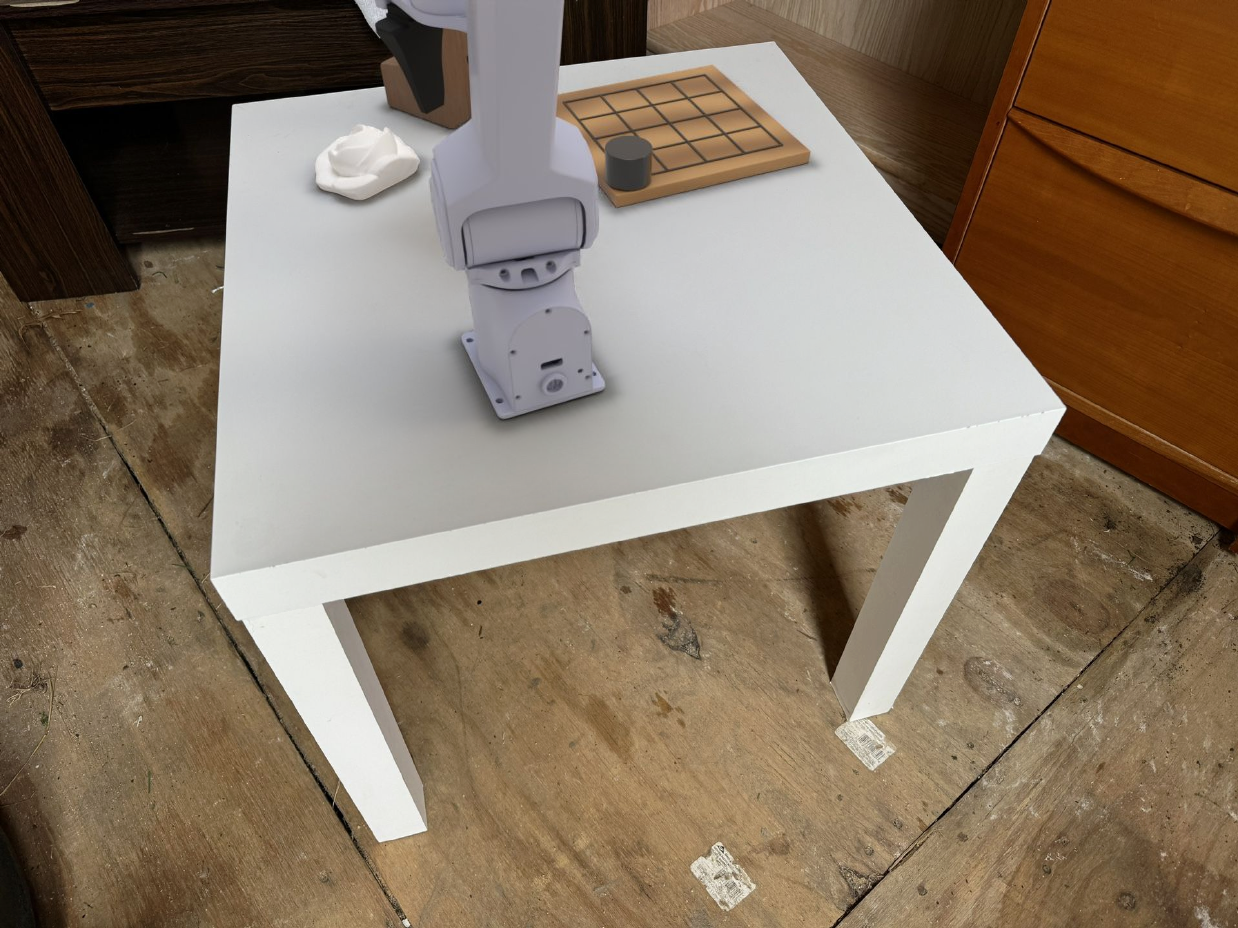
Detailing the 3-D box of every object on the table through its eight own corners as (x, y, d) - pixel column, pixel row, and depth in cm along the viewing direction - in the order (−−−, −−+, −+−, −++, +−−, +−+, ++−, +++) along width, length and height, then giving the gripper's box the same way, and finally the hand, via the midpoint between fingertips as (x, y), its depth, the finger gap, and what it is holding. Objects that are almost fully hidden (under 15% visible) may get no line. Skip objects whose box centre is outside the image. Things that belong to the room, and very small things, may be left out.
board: (808, 163, 84) (811, 150, 83) (616, 208, 79) (616, 194, 78) (711, 75, 96) (712, 63, 95) (539, 109, 91) (538, 97, 90)
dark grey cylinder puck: (659, 185, 79) (660, 153, 76) (616, 195, 78) (616, 163, 75) (639, 162, 81) (640, 131, 79) (597, 172, 80) (597, 141, 78)
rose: (406, 158, 75) (291, 159, 75) (414, 204, 79) (305, 205, 79) (420, 103, 82) (315, 103, 82) (428, 147, 85) (327, 148, 85)
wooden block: (386, 107, 91) (348, -92, 77) (416, 90, 93) (384, -105, 80) (453, 131, 88) (424, -72, 74) (482, 113, 90) (460, -86, 77)
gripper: (563, -64, 59) (570, 130, 69) (409, -106, 64) (436, 79, 75) (492, -33, 55) (511, 167, 65) (335, -80, 61) (374, 110, 71)
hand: (467, 122), depth 70 cm, fingers open, 7 cm apart
